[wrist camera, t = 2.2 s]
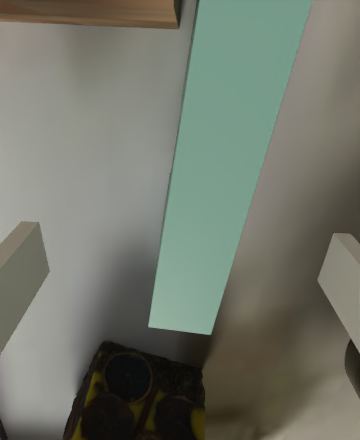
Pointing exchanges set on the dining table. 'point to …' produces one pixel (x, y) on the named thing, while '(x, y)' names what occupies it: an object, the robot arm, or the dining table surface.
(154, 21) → the slotted stand
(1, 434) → the small box
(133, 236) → the dining table surface
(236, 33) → the cross piece
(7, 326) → the robot arm
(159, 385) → the candle
